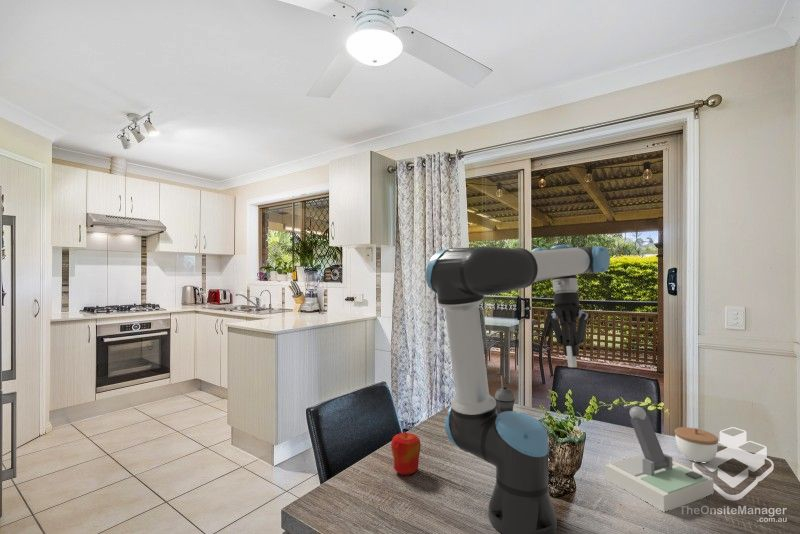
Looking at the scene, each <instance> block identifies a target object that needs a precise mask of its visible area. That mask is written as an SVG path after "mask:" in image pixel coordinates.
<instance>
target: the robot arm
mask: <svg viewBox="0 0 800 534" xmlns="http://www.w3.org/2000/svg"><path fill="white" fill-rule="evenodd" d="M610 256H611V255H610V251H609V249H608V248H607V247H605V246H604V245H602V246H601V245H600V246H599V245H593V246H576V247H574V246H572V245H571V244H558V245H554V246H550V248H546V247H535V248H533V249H531V250H529V249H527V248H523V247H522V248H521V247H518V248H513V247H512V248H511V247H498V246H487V245H486V246H472V247H450V248H446V249H440V250H438V251H437V252H436V253H434V254H433V255H432V256H431V258H430V260H429V261H428V263H427V265H426V268H425V280H426V285H427V286H428V288H429V289H430V290H431V291H432V292H434V293H435V294H436V296H437V304H438V305H439V306H440V307H442V308H443V309H444V313H445V319H446V326H447V334H448V345H449V350H450V358H451V367H452V376H453V382H454V392H455V397H454V398H453V399H452V401H451V404H450V406H449V408H448V409H447V411H446V414H447V415H446V416H445V419H444V420H445V421H444V429H445V432H446V436H447V437H448V440H449V441H450V443H452V444H453V445H454V446H456V447H458V449H460V450H462V451H463V452H465V453H469V454H471V455H472V456H475V457H477V458H479V459H481V460H483V461H485V462H487V463H488V464H491V465H493V466H495V470H496V472H495V474H496V476H495V477H496V479H495V481H496V482H495V485H494V489H493V491H492V495H491V497H490V500H489V502H488V519H489V521H490V523H491V525H492V526H493V527H494V529H495V530H497V531H498V532H499V533H501V534H556V533H557V528H558V524H557V523H558V519H557V514H556V511H555V508H554V505H553V501H552V499H551V495H550V493H549V452H550V444H549V438H548V437H549V436H548V431H547V428H546V427H545V425H544V423H542V422H541V421H540V420H538V419H537V418H536V417H533V416H532V415H529V414H527V413H524V412H516V411H514V410H513V411H506V412H502V413H500V414H498V413H497V406H496V400H495V399H494V398H495V397H494V396H492V395H491V394H490V392H489V391H490V390H489V383H488V381H489V380H488V375H487V365H486V357H485V349H484V347H485V346H484V340H483V331H482V322H481V316H480V305H481V304H482V302H483V301H484V299H485V296H492V295H493V296H494V295H500V294H503V293H507V292H511V291H516V290H520V289H525V288H529V287H530V286H532V285H533V284H534V283H535V282H541V281H547V280H552V282H551V283H552V290H553V291H552V292H553V293H554V294H553V303H554V304H553V305H554V310H553V312H552V313H551V314H548V315H547V317H548V319H549V321H550V322H551V325H552V329H553V331H554V335H555V339H556V342H557V344H560V345H563V351H564V357H565V356H566V358H567V367H568V368H577V367H578V364H577V363H578V361H577V357H578V356H579V345H581V344H584V341H585V336H586V335H585V334H586V328H587V327H586V326H587V321H588V318H589V317H590V314H589V313H587V312H584V311H582V308H581V307H580V297H579V296H580V295H579V293H578V291H579V285H578V275H581V274H597V273H599V274H601V273H606V271H608V270H609V267H610V264H611V257H610ZM578 318H579V319H578ZM577 319H578V321H577Z"/></svg>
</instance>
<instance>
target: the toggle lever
mask: <svg viewBox="0 0 800 534" xmlns="http://www.w3.org/2000/svg"><path fill="white" fill-rule="evenodd" d="M629 415H630V417H631V418H629V420H630V422H631V425H632V427H633V430H634V432H635V435H636V437H637V440H638V443H639V445H640V448H641V452H642V454H644V457H645V458H646V459H648V460H650V461H652V462H654V471H655V470H659V469H662V468H665V467H667V466H668V462H667V460H666V459H665V456H664V454H665V453H664V451H663V449H662V447H661V444H660V442H659V439H658V437H657V434H656V431H655V429H654V427H653V424H652V422H651V420H650V417H649V415H647V413H646V411H645V410H644V408H642V407H641V406H638V405H635V406H632V407H631V408H630V409H629Z"/></svg>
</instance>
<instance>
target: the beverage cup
mask: <svg viewBox="0 0 800 534" xmlns="http://www.w3.org/2000/svg"><path fill="white" fill-rule="evenodd" d="M500 381H501V387H500V388H498V389H497V390H496V392H495V393H494V397H493V398H494V399H495V400H496V406H497V413H498V414H500V413H502V412H506V411H514V406H515V401H516V400H515V399H516V398H515V395H514V393H513V391H512V390H511V389H510V388H509V387H505V386H504V382H503V375H500Z"/></svg>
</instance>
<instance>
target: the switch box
mask: <svg viewBox="0 0 800 534" xmlns="http://www.w3.org/2000/svg"><path fill="white" fill-rule="evenodd" d="M663 454H664V456H665V459H666V460H667V462H668V466H667V467H665V468H662V469H659V470H655V471H654V462H652V461H650V460H648V459H646V458H645V457H644V454H643V453H642V454H639V455H636V456H632V457H627V458H624V459H621V460H617V461H613V462H610V463H608V464H605V465H604V467H605V468H604V469H605V471H604V472H605V473H604V474H605V480H606V481H608V482H609V483H611V484H613V485H614V484H615V486H616V485H617V486H616V487H618V488H620V487H621V488H620V489H622V488H623V489H625V490H627V491H628V492H627V491H626V492H627V493H629V492H630V493H632V494H633V495H632V494H631V495H632V496H634V495H635V496H634V497H636V496H637V497H639V498H641V499H642V500H641V499H640V500H641V501H643V500H644V501H643V502H645V501H646V502H648V503H649V504H648V503H647V504H648V505H650V504H651V505H650V506H652V505H653V506H654V507H653V506H652V507H653V508H655V507H656V508H655V509H657V508H658V509H657V510H658V511H660V510H661V511H660V512H662V511H663V513H666V512H669V511H672V510H674V509H677V508H680V507H683V506H685V505H688V504H690V503H693V502H696V501H699V500H701V499H705V498H707V497H709V496H708V495H710V494H712V493H715V492H714V485H715V484H714V478H712V477H711V476H708V475H706V474H704V473H701V472H699V471H697V470H694V469H691V468H690V467H688V466H685V465H683V464H681V463H678V462H677V461H674V460H673V456H671V455H668V454H666V453H663ZM623 489H622V490H623ZM625 490H624V491H625ZM630 493H629V494H630ZM712 495H713V494H712ZM706 496H707V497H706ZM710 496H711V495H710ZM637 497H636V498H637ZM639 498H638V499H639ZM646 502H645V503H646ZM668 510H669V511H668ZM665 511H666V512H665Z"/></svg>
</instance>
